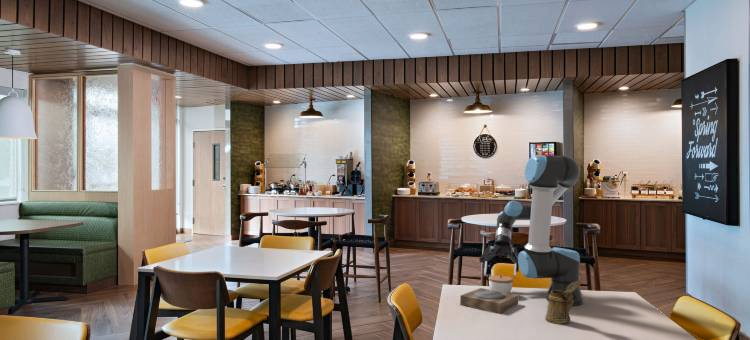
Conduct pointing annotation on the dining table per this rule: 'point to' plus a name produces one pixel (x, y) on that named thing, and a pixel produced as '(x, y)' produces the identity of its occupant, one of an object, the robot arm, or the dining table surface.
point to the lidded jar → (500, 283)
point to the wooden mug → (561, 304)
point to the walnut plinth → (489, 300)
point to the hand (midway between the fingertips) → (499, 275)
